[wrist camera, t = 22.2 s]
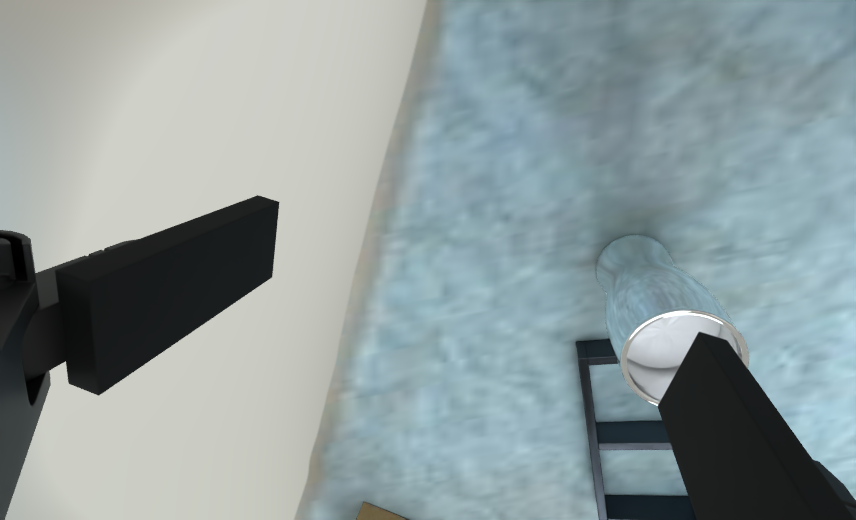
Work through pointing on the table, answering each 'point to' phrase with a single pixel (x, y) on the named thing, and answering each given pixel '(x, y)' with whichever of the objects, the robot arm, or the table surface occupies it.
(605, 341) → the black divided tray
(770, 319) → the table surface
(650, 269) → the beer glass
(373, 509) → the sandwich container
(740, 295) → the table surface
